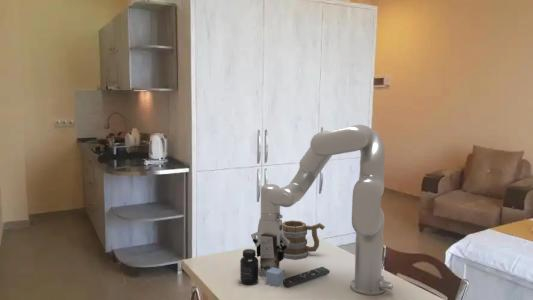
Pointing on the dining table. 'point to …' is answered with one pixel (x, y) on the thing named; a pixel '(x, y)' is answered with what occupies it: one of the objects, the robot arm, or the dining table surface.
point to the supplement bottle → (249, 267)
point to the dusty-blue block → (274, 276)
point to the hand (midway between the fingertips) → (270, 258)
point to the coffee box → (268, 253)
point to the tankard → (299, 239)
